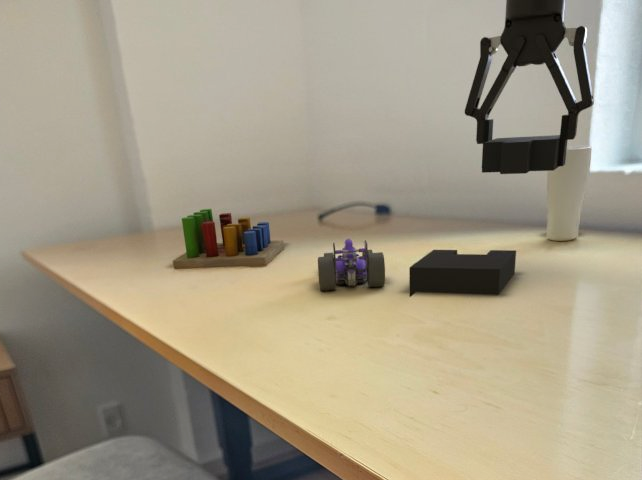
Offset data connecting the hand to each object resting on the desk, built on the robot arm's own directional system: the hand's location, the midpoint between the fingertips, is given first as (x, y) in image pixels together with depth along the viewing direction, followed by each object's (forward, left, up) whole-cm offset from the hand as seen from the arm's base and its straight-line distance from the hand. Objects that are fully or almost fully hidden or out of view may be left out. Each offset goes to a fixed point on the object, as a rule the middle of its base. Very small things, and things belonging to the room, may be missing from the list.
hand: (522, 166), depth 97 cm
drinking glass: (-4, -21, -14) cm, 26 cm away
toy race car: (+23, +14, -14) cm, 30 cm away
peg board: (+53, 0, -14) cm, 54 cm away
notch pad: (+5, +16, -14) cm, 22 cm away
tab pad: (0, +1, 0) cm, 1 cm away
